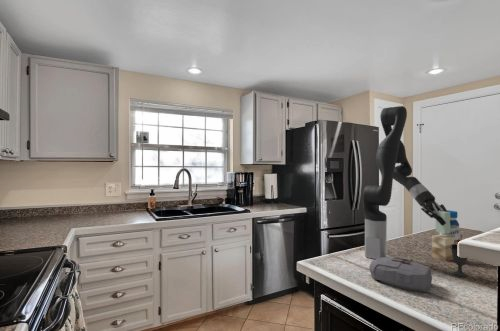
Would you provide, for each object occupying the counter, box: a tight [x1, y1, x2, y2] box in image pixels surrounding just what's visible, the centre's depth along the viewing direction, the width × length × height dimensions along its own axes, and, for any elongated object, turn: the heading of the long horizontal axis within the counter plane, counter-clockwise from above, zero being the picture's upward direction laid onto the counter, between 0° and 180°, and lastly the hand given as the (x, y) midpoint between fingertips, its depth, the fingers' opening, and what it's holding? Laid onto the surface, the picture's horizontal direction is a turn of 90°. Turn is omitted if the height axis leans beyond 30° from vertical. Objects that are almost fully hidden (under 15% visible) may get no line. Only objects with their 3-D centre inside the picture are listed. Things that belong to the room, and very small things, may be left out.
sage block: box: [435, 210, 450, 234], centre depth 123 cm, size 4×4×10 cm
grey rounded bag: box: [368, 256, 433, 293], centre depth 96 cm, size 15×8×20 cm
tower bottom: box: [431, 246, 454, 262], centre depth 123 cm, size 6×6×5 cm
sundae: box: [450, 234, 469, 278], centre depth 104 cm, size 7×7×15 cm
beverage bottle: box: [439, 209, 461, 242], centre depth 136 cm, size 8×8×20 cm
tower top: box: [431, 234, 454, 250], centre depth 123 cm, size 6×6×5 cm
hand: (447, 223), depth 121 cm, fingers closed on sage block, 4 cm apart
